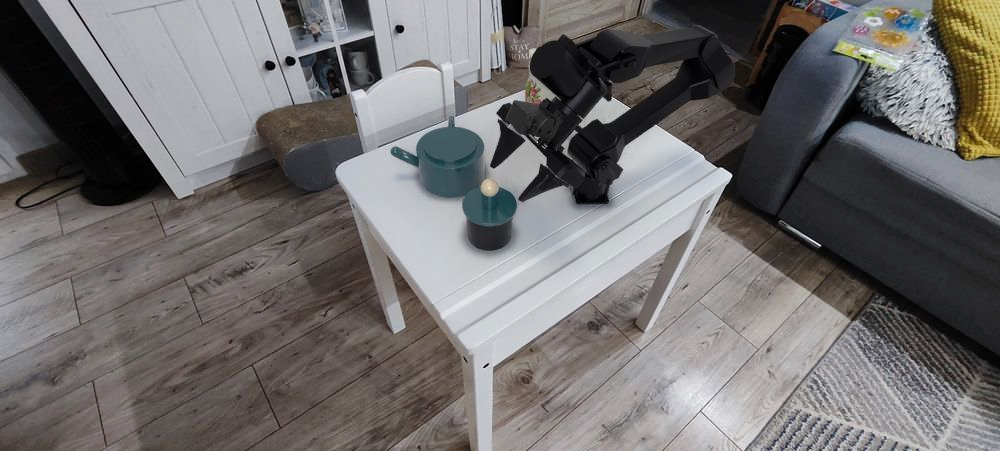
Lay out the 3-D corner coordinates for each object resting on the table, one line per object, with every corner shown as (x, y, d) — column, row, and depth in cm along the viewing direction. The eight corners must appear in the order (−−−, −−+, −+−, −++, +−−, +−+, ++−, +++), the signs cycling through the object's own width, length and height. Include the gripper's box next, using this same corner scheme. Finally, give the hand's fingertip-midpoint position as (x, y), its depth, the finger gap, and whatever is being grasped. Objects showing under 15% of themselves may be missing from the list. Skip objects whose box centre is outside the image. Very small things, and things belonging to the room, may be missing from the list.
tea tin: (510, 217, 85) (511, 189, 80) (513, 250, 80) (514, 223, 74) (467, 218, 85) (465, 190, 79) (467, 251, 79) (465, 224, 74)
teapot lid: (514, 187, 80) (516, 161, 76) (518, 225, 74) (520, 200, 70) (462, 188, 80) (461, 162, 75) (462, 227, 74) (460, 201, 69)
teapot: (483, 143, 99) (483, 112, 94) (485, 196, 88) (485, 165, 82) (400, 145, 99) (394, 113, 93) (391, 198, 88) (384, 166, 82)
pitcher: (553, 150, 98) (561, 94, 88) (508, 109, 109) (510, 54, 98) (592, 134, 103) (604, 79, 92) (545, 96, 113) (551, 42, 102)
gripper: (508, 55, 70) (447, 134, 74) (581, 117, 59) (505, 206, 63) (546, 88, 78) (489, 158, 83) (615, 148, 68) (546, 224, 72)
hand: (505, 183), depth 75 cm, fingers open, 9 cm apart
